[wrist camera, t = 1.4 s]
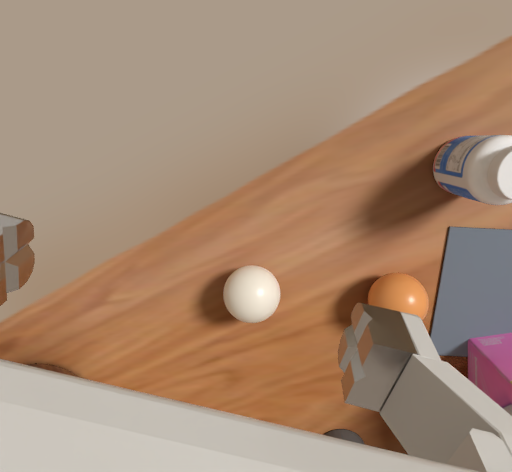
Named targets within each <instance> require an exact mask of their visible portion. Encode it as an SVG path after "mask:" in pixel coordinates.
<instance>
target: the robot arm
mask: <svg viewBox="0 0 512 472" xmlns="http://www.w3.org/2000/svg"><path fill="white" fill-rule="evenodd" d="M33 238H34V228H33V225H32V223H31V222H30V221H29V220H25V219H21V218H18V217H13V216H10V215H7V214H3V213H0V306H1V305H2V304H3V303H4V302H5V301H6V300H7V293H8V292H12V291H15V290H18V289H20V288H21V287H22V286H23V285H24V284H25V283H26V282H27V281H28V279H29V277H30V275H31V273H32V271H33V267H34V252H33V251H32V249H31V248H30V247H29V245H28V243H29V242H30V241H31V240H32V239H33ZM351 320H352V325H351V326H349V327H347V328H346V329H344V332H343V334H342V337H341V339H340V344H339V349H338V362H339V367H340V368H341V369H342V370H343V372H344V375H343V377H342V380H341V382H342V389H343V395H344V401H345V403H348V404H351V405H355V406H359V407H362V408H366V409H370V410H374V411H377V412H380V415H381V417H382V418H383V419H384V421H385V422H386V424H387V425H388V426H389V428H390V429H391V431H392V432H393V433H394V435H395V436H396V438H397V439H398V441H399V442H400V443H401V445H402V446H403V448H404V449H405V450H406V452H407V453H408V455H407V454H403V453H398V452H394V451H390V450H386V449H381V448H377V447H373V446H369V445H364V444H360V443H356V442H352V441H347V440H343V439H339V438H334V437H330V436H326V435H322V434H317V433H313V432H309V431H305V430H300V429H296V428H292V427H288V426H283V425H279V424H275V423H271V422H266V421H262V420H258V419H254V418H249V417H245V416H241V415H236V414H232V413H228V412H224V411H219V410H215V409H211V408H207V407H202V406H198V405H194V404H190V403H185V402H181V401H177V400H173V399H168V398H164V397H160V396H156V395H151V394H147V393H143V392H138V391H134V390H130V389H126V388H121V387H117V386H113V385H109V384H105V383H100V382H96V381H92V380H88V379H84V378H79V377H75V376H71V375H67V374H62V373H58V372H54V371H50V370H45V369H41V368H37V367H33V366H28V365H24V364H20V363H15V362H11V361H7V360H3V359H0V472H512V416H511V415H510V414H509V413H508V412H506V411H505V410H504V409H503V408H502V407H500V406H499V405H498V404H497V403H496V402H494V401H493V400H492V399H491V398H490V397H489V396H487V395H486V394H485V393H484V392H483V391H481V390H480V389H479V388H478V387H477V386H475V385H474V384H473V383H472V382H471V381H469V380H468V379H467V378H466V377H465V376H463V375H462V374H461V373H460V372H459V371H458V370H456V369H455V368H454V367H453V366H452V365H450V364H449V363H448V362H444V361H441V359H440V357H439V355H438V352H437V350H436V348H435V346H434V344H433V342H432V340H431V338H430V336H429V334H428V332H427V330H426V328H425V326H424V324H423V322H422V320H421V318H420V317H419V316H417V315H414V314H409V313H405V312H400V311H395V310H390V309H386V308H381V307H377V306H372V305H368V304H363V303H357V304H356V306H355V307H354V309H353V311H352V313H351Z"/></svg>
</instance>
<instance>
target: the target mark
mask: <svg viewBox="0 0 512 472" xmlns="http://www.w3.org/2000/svg"><path fill="white" fill-rule="evenodd" d="M506 333H512V230H506V229H486V228H467V227H449V232H448V237H447V243H446V249H445V254H444V260H443V266H442V271H441V277H440V283H439V288H438V294H437V300H436V305H435V311H434V317H433V322H432V328H431V334H430V338H431V340H432V342H433V344H434V346H435V348H436V350H437V352H438V355H443V356H462V357H468V340H469V339H470V338H477V337H485V336H492V335H499V334H506Z"/></svg>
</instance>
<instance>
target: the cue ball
mask: <svg viewBox="0 0 512 472" xmlns="http://www.w3.org/2000/svg"><path fill="white" fill-rule="evenodd" d="M223 298H224V303H225V306H226V308H227V309H228V311H229V312H230V313H231V315H233V316H234V317H235V318H236V319H238V320H240V321H243V322H246V323H257V322H261V321H263V320H265V319H267V318H269V317H270V316H271V315H272V314H273V313H274V312H275V310H276V309H277V306H278V304H279V301H280V287H279V284H278V282H277V280H276V278H275V277H274V275H273V274H272V273H271V272H270V271H268V270H267V269H265V268H263V267H260V266H255V265H249V266H244V267H241V268H239V269H237V270H235V271H234V272H233V273H232V274H231V275H230V276H229V277H228V279H227V281H226V283H225V286H224V291H223Z"/></svg>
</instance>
